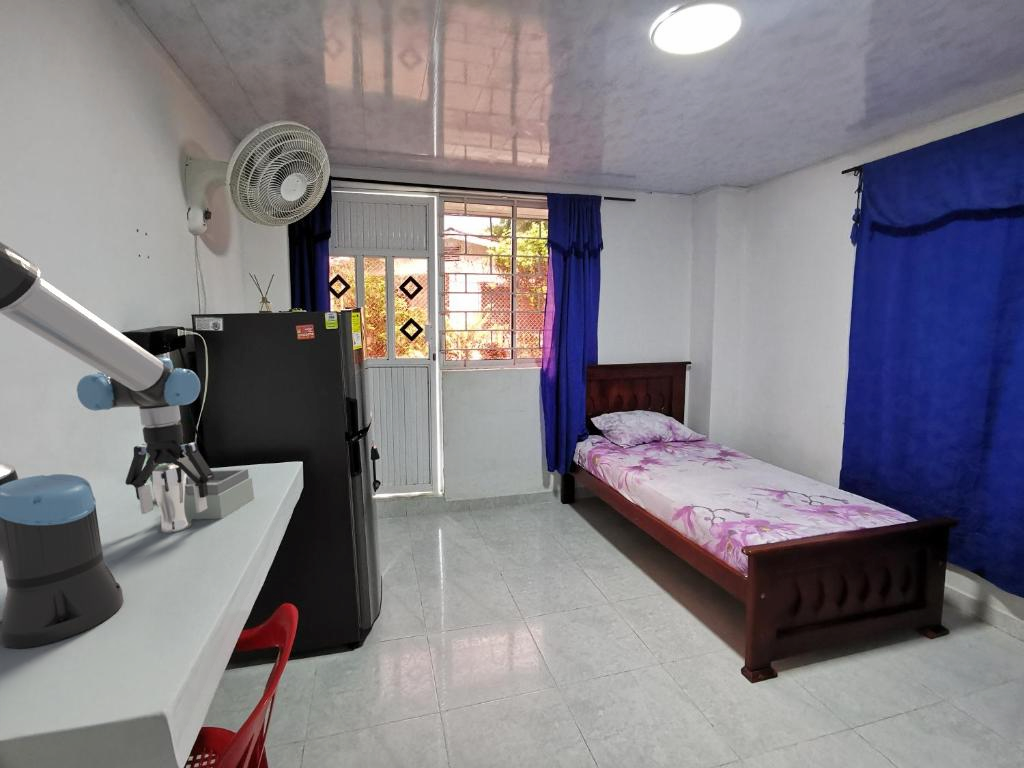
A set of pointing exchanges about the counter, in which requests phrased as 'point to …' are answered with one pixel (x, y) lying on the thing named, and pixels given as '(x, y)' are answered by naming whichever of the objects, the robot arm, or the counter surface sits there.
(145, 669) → the counter surface
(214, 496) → the grey box with knob
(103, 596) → the robot arm
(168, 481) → the beer glass
